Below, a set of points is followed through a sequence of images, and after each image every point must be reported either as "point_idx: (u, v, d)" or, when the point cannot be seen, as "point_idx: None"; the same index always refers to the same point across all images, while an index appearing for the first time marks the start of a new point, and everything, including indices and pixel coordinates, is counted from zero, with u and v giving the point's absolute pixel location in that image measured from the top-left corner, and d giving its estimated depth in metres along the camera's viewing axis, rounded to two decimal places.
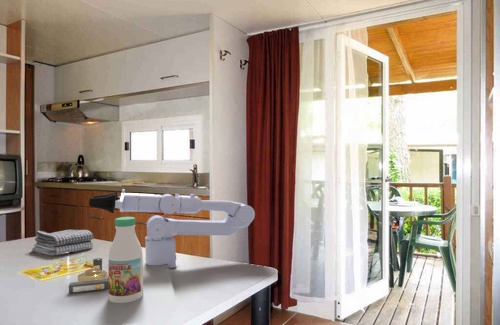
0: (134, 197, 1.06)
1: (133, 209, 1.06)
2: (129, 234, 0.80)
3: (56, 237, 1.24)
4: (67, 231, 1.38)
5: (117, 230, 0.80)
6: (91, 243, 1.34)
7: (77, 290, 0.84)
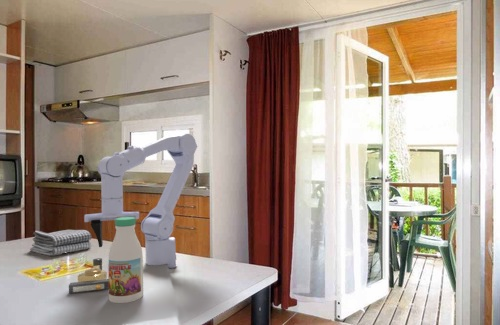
0: (119, 202, 0.98)
1: None
2: (129, 234, 0.80)
3: (54, 237, 1.24)
4: (65, 231, 1.37)
5: (117, 230, 0.80)
6: (89, 243, 1.34)
7: (77, 290, 0.84)
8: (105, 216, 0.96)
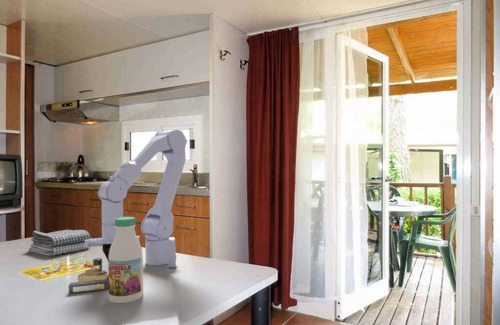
0: None
1: None
2: (129, 234, 0.80)
3: (53, 237, 1.24)
4: (64, 231, 1.37)
5: (117, 230, 0.80)
6: None
7: (77, 290, 0.84)
8: (105, 242, 0.96)
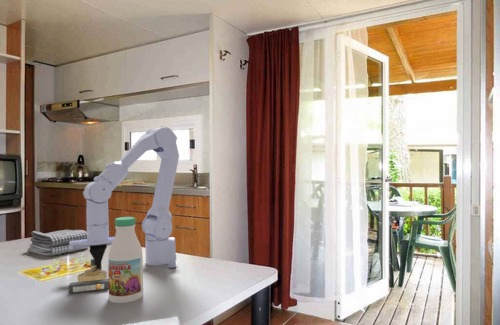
0: (105, 229, 0.97)
1: None
2: (129, 234, 0.80)
3: (52, 237, 1.24)
4: (63, 231, 1.37)
5: (117, 230, 0.80)
6: None
7: (77, 290, 0.84)
8: (90, 243, 0.95)
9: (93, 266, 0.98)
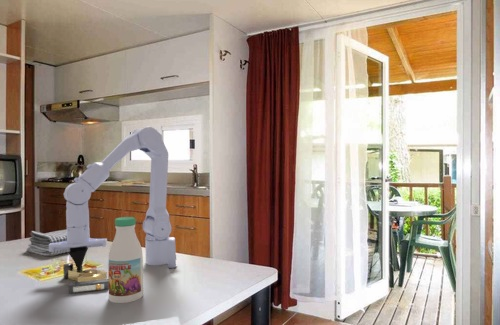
0: (85, 230, 0.95)
1: None
2: (129, 234, 0.80)
3: (51, 237, 1.24)
4: (62, 231, 1.37)
5: (117, 230, 0.80)
6: None
7: (77, 290, 0.84)
8: (70, 245, 0.93)
9: (73, 270, 0.94)
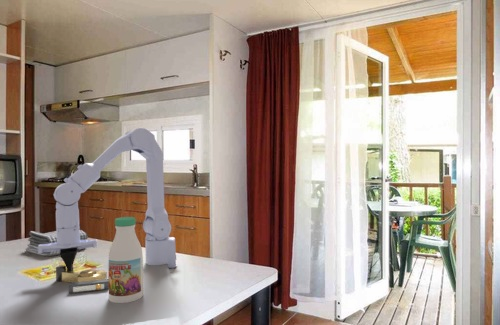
0: (75, 231, 0.94)
1: None
2: (129, 234, 0.80)
3: (50, 237, 1.24)
4: None
5: (117, 230, 0.80)
6: None
7: (77, 290, 0.84)
8: (60, 246, 0.92)
9: (68, 272, 0.93)
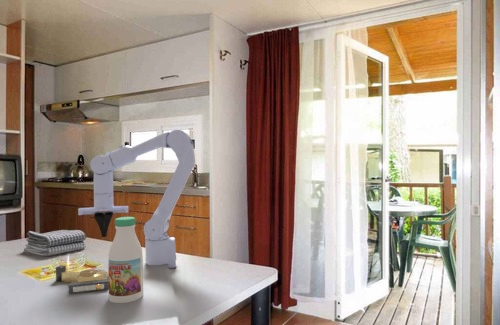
0: (110, 197, 1.08)
1: None
2: (129, 234, 0.80)
3: (48, 237, 1.24)
4: None
5: (117, 230, 0.80)
6: (84, 243, 1.34)
7: (77, 290, 0.84)
8: (97, 210, 1.06)
9: (68, 272, 0.93)
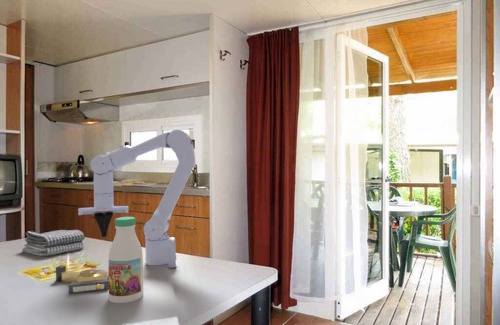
0: (110, 197, 1.08)
1: None
2: (129, 234, 0.80)
3: (47, 237, 1.24)
4: None
5: (117, 230, 0.80)
6: (82, 243, 1.34)
7: (77, 290, 0.84)
8: (97, 210, 1.06)
9: (68, 272, 0.93)
